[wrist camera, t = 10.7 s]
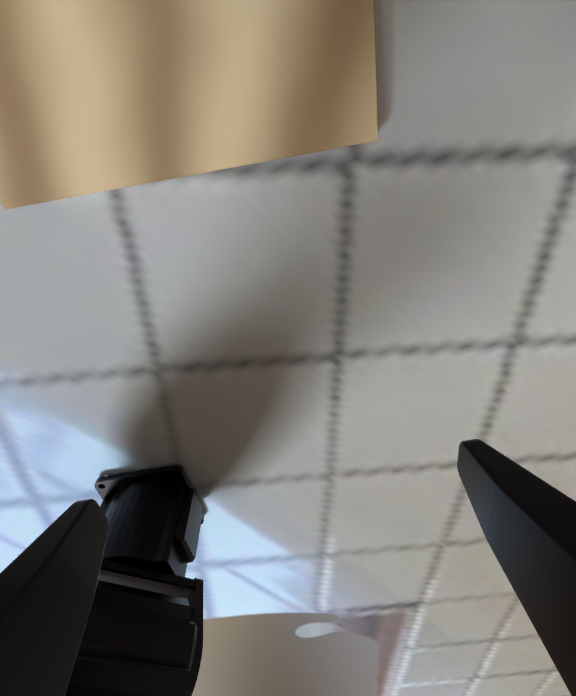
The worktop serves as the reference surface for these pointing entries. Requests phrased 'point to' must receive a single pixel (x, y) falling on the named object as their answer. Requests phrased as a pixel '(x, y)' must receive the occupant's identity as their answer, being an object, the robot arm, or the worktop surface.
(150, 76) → the striped wooden cutting board
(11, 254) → the worktop surface
